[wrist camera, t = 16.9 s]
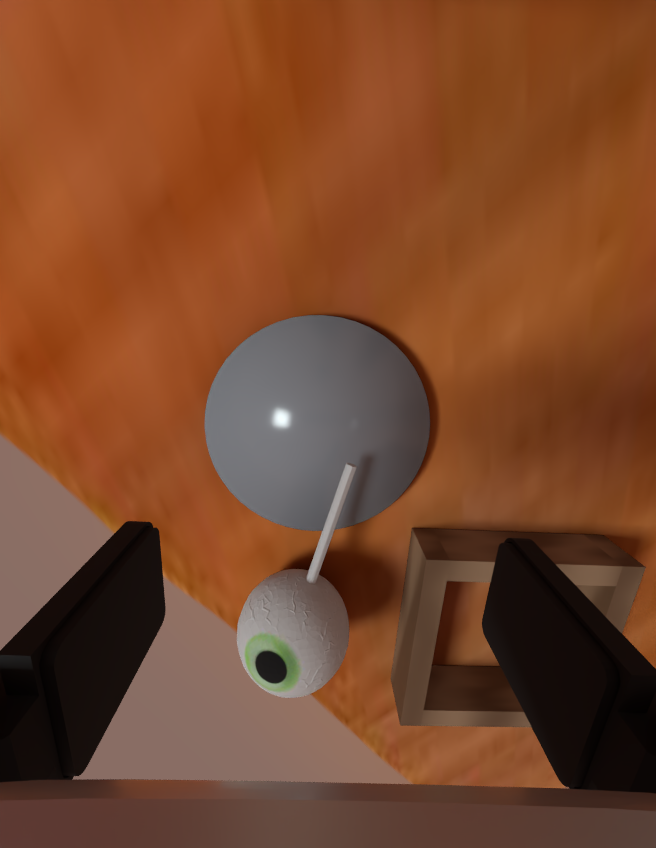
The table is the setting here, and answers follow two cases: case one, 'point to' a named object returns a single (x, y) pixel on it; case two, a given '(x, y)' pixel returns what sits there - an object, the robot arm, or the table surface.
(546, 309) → the table surface
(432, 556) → the frame
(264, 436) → the gray round disc
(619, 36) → the table surface
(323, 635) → the eyeball on stick
